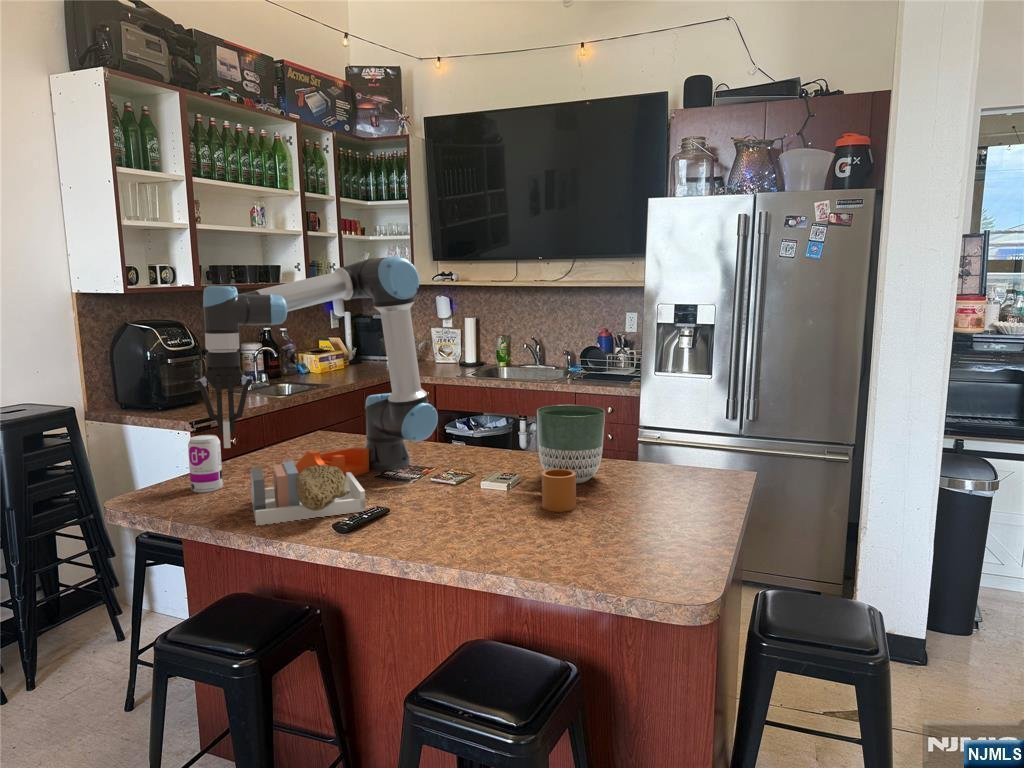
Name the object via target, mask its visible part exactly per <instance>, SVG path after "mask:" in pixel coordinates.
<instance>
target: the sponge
mask: <svg viewBox="0 0 1024 768" xmlns="http://www.w3.org/2000/svg"><path fill="white" fill-rule="evenodd" d="M295 483H296V490H297V496H298V499H299V500H300V502H301V504H302V505H303V506H305V507H306V508H308V509H311V510H313V511H316V510H317V511H318V510H322V509H324V508H325V507H327V506H328V505H329V504H331V503H332V502H333V501H334V500H335V498H341V497H344V496H345V495H346V494H348V493H349V492H350V487H349V482H348V481H347V479H346V477H345V476H344V474H343V472H342V471H341V470H340V469H339V468H337V467H333V466H327V465H319V466H318V465H317V466H310V467H306V468H305V469H304V470H303V471H301V473H299V474H298V477H297V478H296V482H295Z"/></svg>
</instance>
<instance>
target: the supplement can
mask: <svg viewBox="0 0 1024 768" xmlns="http://www.w3.org/2000/svg"><path fill="white" fill-rule="evenodd" d="M187 449H188V453H187V454H188V466H189V481H190V483H189V484H190V490H191V491H193V492H194V493H200V494H201V493H211V492H215V491H218V490H220V489H221V488H223V468H222V465H223V464H222V451H221V440H220V439H219V437H218V436H217V435H215V434H202V435H196V436H192V437H190V438H189V441H188V443H187Z"/></svg>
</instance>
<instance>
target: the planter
mask: <svg viewBox="0 0 1024 768" xmlns="http://www.w3.org/2000/svg"><path fill="white" fill-rule="evenodd" d="M605 417H606V410H605V409H604V408H601V407H599V406H598V407H597V406H592V405H583V404H582V405H581V404H556V405H546V406H543V407H542V406H541V407H540V408H537V409H536V421H537V422H536V423H537V425H536V426H537V443H538V455H539V462H540V464H541V466H542V469H543V471H546V470H551V469H566V470H571V471H574V472H575V473H576V485H577V484H582V483H586V482H587V481H589V480H590V479H591V478H593V476H594V475H596V473H597V472H598V470H599V468H600V465H601V461H602V457H603V456H602V455H603V447H604V436H605V434H604V432H605V421H606V418H605Z"/></svg>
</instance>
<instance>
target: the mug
mask: <svg viewBox="0 0 1024 768" xmlns="http://www.w3.org/2000/svg"><path fill="white" fill-rule="evenodd" d="M541 506H542V507H541V508H542V509H544V510H545V511H549V512H555V513H557V512H559V513H560V512H561V513H563V512H569V511H574V510H575V509H576V507H577V484H576V473H575V472H574V471H571V470H566V469H551V470H546V471H544V470H543V471H542V472H541Z"/></svg>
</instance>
